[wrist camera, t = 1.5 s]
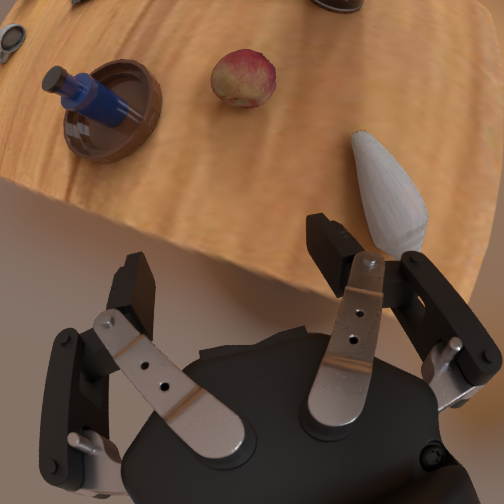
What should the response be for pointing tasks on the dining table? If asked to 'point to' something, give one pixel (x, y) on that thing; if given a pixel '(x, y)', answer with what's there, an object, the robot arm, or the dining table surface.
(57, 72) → the soy bottle
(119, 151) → the bowl
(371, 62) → the dining table surface
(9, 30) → the ceramic mug
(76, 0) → the salad plate
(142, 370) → the robot arm
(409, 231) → the seashell
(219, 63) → the fruit
